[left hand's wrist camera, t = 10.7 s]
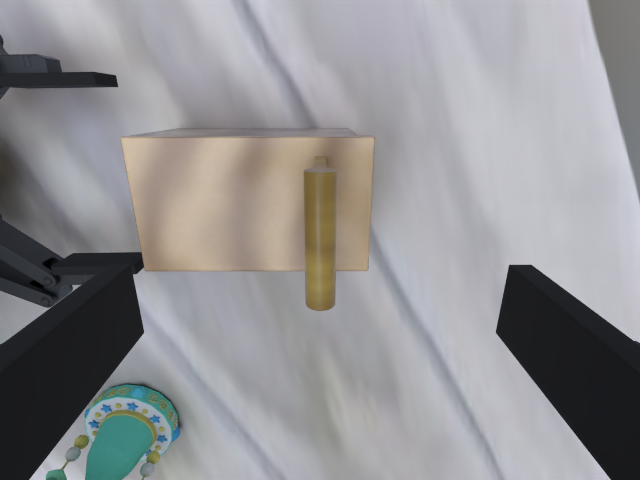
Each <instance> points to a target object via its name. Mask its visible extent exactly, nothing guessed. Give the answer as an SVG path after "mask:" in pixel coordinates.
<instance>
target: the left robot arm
mask: <svg viewBox="0 0 640 480" xmlns="http://www.w3.org/2000/svg"><path fill="white" fill-rule="evenodd" d="M143 333H144V329H143V324H142V319H141V314H140V309H139V304H138V299H137V294H136V289H135V284H134V279H133V274H132V269H131V265H108V266H107V267H105V268H104V269H102V270H101V271H100V272H98V273H97V274H96V275H94V276H93V277H92V278H90V279H89V280H88V281H86V282H85V283H84V284H82V285H81V286H80V287H78V288H77V289H76V290H74V291H73V292H72V293H70V294H69V295H68V296H66V297H65V298H64V299H62V300H61V301H59V302H58V303H57V304H55V305H54V306H53V307H51V308H50V309H49V310H47V311H46V312H45V313H43V314H42V315H41V316H39V317H38V318H37V319H35V320H34V321H33V322H31V323H30V324H29V325H27V326H26V327H25V328H23V329H22V330H20V331H19V332H18V333H16V334H15V335H14V336H12V337H11V338H10V339H8V340H7V341H6V342H4V343H2V344H0V480H29V479H30V478H31V477H32V475H33V474H34V473H35V471H36V470H37V469H38V468H39V466H40V465H41V464H42V462H43V461H44V460H45V459H46V457H47V456H48V455H49V454H50V452H51V451H52V450H53V448H54V447H55V446H56V445H57V443H58V442H59V441H60V439H61V438H62V437H63V436H64V434H65V433H66V432H67V430H68V429H69V428H70V427H71V425H72V424H73V423H74V422H75V420H76V419H77V418H78V416H79V415H80V414H81V413H82V411H83V410H84V409H85V407H86V406H87V405H88V404H89V402H90V401H91V400H92V399H93V397H94V396H95V395H96V393H97V392H98V391H99V390H100V388H101V387H102V386H103V384H104V383H105V382H106V381H107V379H108V378H109V377H110V376H111V374H112V373H113V372H114V370H115V369H116V368H117V367H118V365H119V364H120V363H121V361H122V360H123V359H124V358H125V356H126V355H127V354H128V353H129V351H130V350H131V349H132V347H133V346H134V345H135V344H136V342H137V341H138V340H139V338H140V337H141V336H142V335H143ZM496 333H497V335H498V336H499V337H500V338H501V340H502V341H503V342H504V344H505V345H506V346H507V347H508V349H509V350H510V351H511V353H512V354H513V355H514V356H515V358H516V359H517V360H518V361H519V363H520V364H521V365H522V367H523V368H524V369H525V370H526V372H527V373H528V374H529V376H530V377H531V378H532V379H533V381H534V382H535V383H536V384H537V386H538V387H539V388H540V390H541V391H542V392H543V393H544V395H545V396H546V397H547V399H548V400H549V401H550V402H551V404H552V405H553V406H554V407H555V409H556V410H557V411H558V413H559V414H560V415H561V416H562V418H563V419H564V420H565V422H566V423H567V424H568V425H569V427H570V428H571V429H572V430H573V432H574V433H575V434H576V436H577V437H578V438H579V439H580V441H581V442H582V443H583V445H584V446H585V447H586V448H587V450H588V451H589V452H590V454H591V455H592V456H593V457H594V459H595V460H596V461H597V462H598V464H599V465H600V466H601V468H602V469H603V470H604V471H605V473H606V474H607V475H608V477H609V478H610V479H611V480H640V343H639V342H637V341H633V340H632V339H630V338H629V337H628V336H626V335H625V334H624V333H622V332H621V331H620V330H618V329H617V328H615V327H614V326H613V325H611V324H610V323H609V322H607V321H606V320H605V319H603V318H602V317H601V316H599V315H598V314H597V313H595V312H594V311H593V310H591V309H590V308H589V307H587V306H586V305H585V304H583V303H582V302H581V301H579V300H578V299H576V298H575V297H574V296H572V295H571V294H570V293H568V292H567V291H566V290H564V289H563V288H562V287H560V286H559V285H558V284H556V283H555V282H554V281H552V280H551V279H550V278H548V277H547V276H546V275H544V274H543V273H542V272H540V271H539V270H538V269H536V268H535V267H533V266H532V265H509V269H508V274H507V279H506V284H505V289H504V294H503V299H502V304H501V309H500V314H499V319H498V324H497V329H496Z"/></svg>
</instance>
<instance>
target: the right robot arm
mask: <svg viewBox="0 0 640 480" xmlns="http://www.w3.org/2000/svg"><path fill="white" fill-rule="evenodd" d="M2 46H3V38H2V36H1V35H0V99H1V98H2V97H3V95H4V94H5V93H6V92H7V90H8V89H9V88H10V87H15V88H83V87H118V84H117V79H116V75H110V74H103V73H97V72H62V70H61V66H60V61H59V60H57V59H55V58H52V57H47V56H42V55H37V54H28V55H9V54H8V53H7V52H6V51H5V50H4V48H3V47H2ZM1 218H2V215H1V214H0V291H3V292H6V293H8V294H11V295H14V296H16V297H19V298H22V299H25V300H27V301H30V302H33V303H35V304H38V305H41V306H43V307H47V308H48V307H52V306H53V305H54V304H56V303H57V302H59V301H60V300H61V299H63V298H64V297H65V296H67V295H68V294H69V293H71V292H72V290H73V287H72V285H82V284H84V283H85V282H86V281H88V280H89V279H90V278H92V277H93V276H94V275H96V274H97V273H98V272H100V271H101V270H102V269H104V268H105V267H107V266H108V265H131V269H132V274H137V273H138V272H139V271H140V270H141V269H143V268H144V263H143V257H142V252H130V253H73V254H71V255H70V256H68V257H66V258H62V257H60V256H59V255H57V254H56V253H54V252H52V251H51V250H49V249H48V248H46V247H44V246H43V245H41V244H40V243H38V242H37V241H35V240H33V239H32V238H30V237H29V236H27V235H25V234H24V233H22V232H21V231H19V230H17V229H16V228H14V227H13V226H11V225H9V224H8V223H6V222H5V221H3V220H2V219H1Z"/></svg>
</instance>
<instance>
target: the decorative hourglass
mask: <svg viewBox="0 0 640 480" xmlns="http://www.w3.org/2000/svg"><path fill="white" fill-rule="evenodd" d="M85 418H86V419H85V425H86V433H87V435H88V436H89V438H90V439H91V441H92V442H93V444H92V446H91V449H90V451H89V453H88V457H87V466H86V477H85V480H122V479H123V478H125V477H126V476H127V475H128V474H129V473H130V472H131V471H132V470H133V468H134V467H135V466H136V464H137V463H138V462H142V461H146V460H147V462H148V463H145V464H143V466H142V467H141V470H140V473H141V475H142V476H143V479H144V477H149V476H150V475H151V474H152V473H153V471H154V465H153V464H155V463H157V462H158V460H159V458H160V455H161V454H163V453H164V452H166V450H167V449H168V447H169V445H170V443H171V441H174V440H175V439H176V438H178V437H179V435H180V431H179V426H178V414H177V413H176V411H175V409H174V407H173V405H172V404H171V402H170V401H168V400H167V399H166V398H165V397H164V396H162V395H161V394H160V393H159V392H157V391H154V390H152V389H149V388H147V387H144V386H138V385H126V384H125V385H121V386H117V387H113V388H110V389H109V390H107V391H106V392H105V393H103V394H102V395H101V396H99V398H98V399H96V400H95V402H94V403H93V404H92V406H91V408H89V409H88V410H86V413H85ZM88 442H89V439H88V437H87V436H86V435H80V436H79V437H77V438H76V440H75V442H74V446H75V447H71V448H70V449H69V450H67V452H66V455H65V457H66V460H67V462H66V463H65V465H64V466H63V467H62V469H58V470H52V471H49V472H48V473H47V475H46V480H67V478H66V476H65V473H64V471H63V469H64V468H65V466H66V465H67V463H68V462H69V461H70V462H72V461H75V460H76V459H77V458H78V457H79V456H80V454H81V451H80V449H83V448H84V447H86V446H87V445H88ZM143 479H142V480H143Z"/></svg>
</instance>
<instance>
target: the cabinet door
mask: <svg viewBox="0 0 640 480" xmlns="http://www.w3.org/2000/svg"><path fill="white" fill-rule="evenodd" d="M120 139H121V144H122V150H123V155H124V160H125V166H126V171H127V176H128V182H129V187H130V193H131V198H132V203H133V209H134V214H135V220H136V225H137V230H138V236H139V241H140V247H141V252H142V257H143V263H144V268H145V271H305V291H306V305H307V307H308V308H310V309H312V310H316V311H325V310H329V309H331V308H332V307H334V305H335V284H336V271H368V262H369V242H370V223H371V203H372V183H373V164H374V144H375V138H374V137H373V136H125V137H121V138H120Z"/></svg>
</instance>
